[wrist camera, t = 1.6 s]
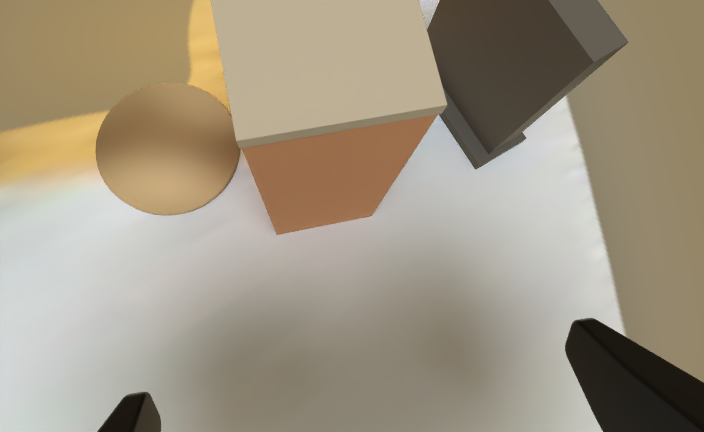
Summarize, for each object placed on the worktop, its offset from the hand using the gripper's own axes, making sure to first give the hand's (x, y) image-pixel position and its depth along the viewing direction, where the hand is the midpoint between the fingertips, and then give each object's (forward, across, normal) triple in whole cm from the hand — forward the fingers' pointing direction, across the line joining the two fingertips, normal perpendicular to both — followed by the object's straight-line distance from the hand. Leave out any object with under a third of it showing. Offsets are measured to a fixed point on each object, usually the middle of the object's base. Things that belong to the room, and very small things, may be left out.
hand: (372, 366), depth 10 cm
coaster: (+17, +7, +2) cm, 19 cm away
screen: (+18, -9, +1) cm, 20 cm away
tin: (+15, 0, +4) cm, 16 cm away
